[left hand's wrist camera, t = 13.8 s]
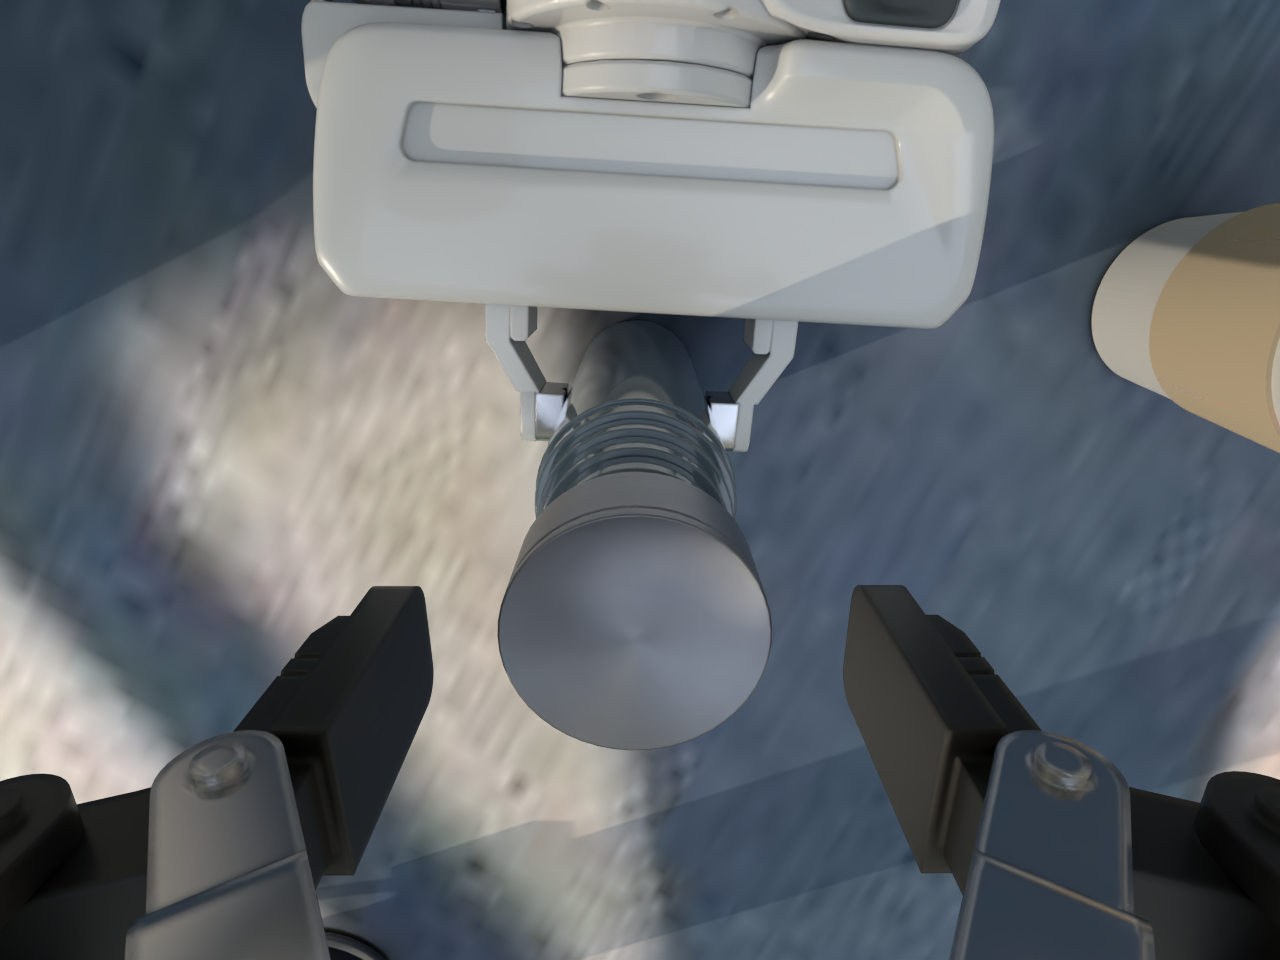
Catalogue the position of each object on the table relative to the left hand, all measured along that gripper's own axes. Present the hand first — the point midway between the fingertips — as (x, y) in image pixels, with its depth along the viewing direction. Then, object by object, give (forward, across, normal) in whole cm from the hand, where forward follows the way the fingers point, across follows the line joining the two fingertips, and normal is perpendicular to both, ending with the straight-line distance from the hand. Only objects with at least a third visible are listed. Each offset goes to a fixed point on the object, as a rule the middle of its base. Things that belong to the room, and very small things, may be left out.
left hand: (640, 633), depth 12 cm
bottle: (+20, 0, 0) cm, 20 cm away
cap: (0, 0, 0) cm, 0 cm away
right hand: (+14, 0, -1) cm, 14 cm away
